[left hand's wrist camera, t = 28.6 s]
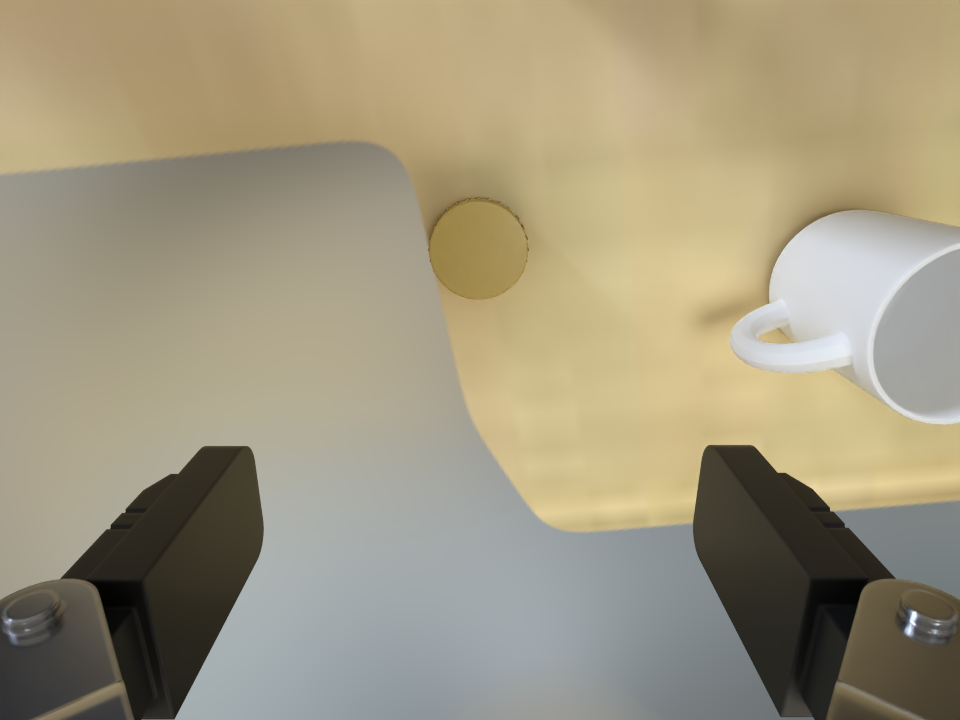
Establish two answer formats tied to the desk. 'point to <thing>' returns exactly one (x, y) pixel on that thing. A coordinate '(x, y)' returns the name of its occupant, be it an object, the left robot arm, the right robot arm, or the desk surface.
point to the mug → (867, 310)
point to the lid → (478, 248)
